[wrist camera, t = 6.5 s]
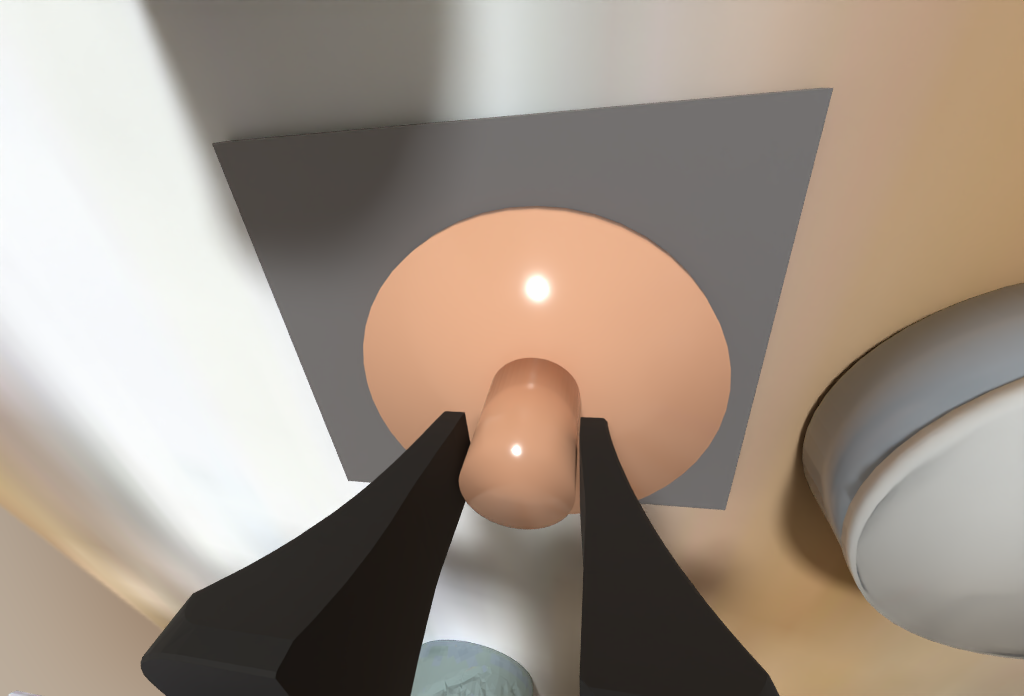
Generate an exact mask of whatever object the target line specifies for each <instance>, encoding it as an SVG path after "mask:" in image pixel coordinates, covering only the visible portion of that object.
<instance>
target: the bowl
mask: <svg viewBox="0 0 1024 696" xmlns="http://www.w3.org/2000/svg"><path fill="white" fill-rule="evenodd" d="M802 462H803V468H804V474H805V477H806V479H807V482H808V485H809V487H810V489H811V491H812V493H813V495H814V497H815V498H816V500H817V502H818V504H819V506H820V508H821V510H822V512H823V514H824V516H825V517H826V519H827V521H828V523H829V525H830V527H831V529H832V531H833V533H834V535H835V536H836V538H837V540H838V542H839V544H840V546H841V548H842V551H843V556H844V558H845V561H846V564H847V566H848V569H849V571H850V573H851V575H852V576H853V578H854V580H855V582H856V584H857V586H858V588H859V589H860V591H861V592H862V594H863V595H864V597H865V598H866V600H867V601H868V602H869V603H870V604H871V605H872V606H873V607H874V608H875V609H876V610H877V611H878V612H879V613H880V614H882V615H883V616H884V617H886V618H887V619H889V620H890V621H891V622H893V623H894V624H896V625H898V626H900V627H902V628H904V629H905V630H907V631H909V632H911V633H913V634H916V635H918V636H921V637H923V638H926V639H928V640H931V641H934V642H937V643H940V644H943V645H947V646H950V647H953V648H957V649H962V650H966V651H971V652H975V653H980V654H986V655H993V656H999V657H1006V658H1015V659H1024V283H1020V284H1016V285H1011V286H1007V287H1003V288H1000V289H997V290H994V291H991V292H988V293H985V294H982V295H979V296H976V297H973V298H970V299H967V300H965V301H962V302H960V303H957V304H955V305H953V306H950V307H948V308H945V309H943V310H941V311H938V312H936V313H934V314H932V315H930V316H928V317H926V318H924V319H922V320H920V321H918V322H916V323H915V324H913V325H911V326H909V327H907V328H905V329H904V330H902V331H900V332H899V333H897V334H896V335H894V336H892V337H891V338H889V339H888V340H886V341H884V342H883V343H881V344H880V345H879V346H877V347H876V348H875V349H873V350H872V351H871V352H869V353H868V354H867V355H865V356H864V357H863V358H862V359H860V360H859V361H858V362H857V363H856V364H855V365H854V366H852V367H851V368H850V369H849V370H848V371H847V372H846V373H845V374H844V375H843V376H842V377H841V378H840V379H839V380H838V381H837V382H836V384H835V385H834V386H833V387H832V388H831V389H830V391H829V392H828V393H827V394H826V395H825V397H824V398H823V400H822V402H821V403H820V405H819V406H818V408H817V409H816V411H815V412H814V415H813V417H812V419H811V421H810V423H809V426H808V428H807V431H806V435H805V439H804V443H803V454H802Z"/></svg>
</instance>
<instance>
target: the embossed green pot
mask: <svg viewBox="0 0 1024 696" xmlns="http://www.w3.org/2000/svg"><path fill="white" fill-rule="evenodd" d="M411 696H533V686H532V680H531V678H530V676H529V674H528V672H527V671H526V670H525V669H524V668H523V667H522V666H521V665H520V664H519V663H517V662H516V661H514V660H513V659H511V658H510V657H508V656H506V655H504V654H502V653H500V652H498V651H496V650H493V649H491V648H488V647H485V646H481V645H478V644H474V643H469V642H464V641H456V640H438V641H431V642H428V643H425V644H423V645H422V646H421V651H420V655H419V659H418V664H417V668H416V673H415V678H414V683H413V687H412V692H411Z"/></svg>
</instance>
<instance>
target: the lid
mask: <svg viewBox="0 0 1024 696" xmlns="http://www.w3.org/2000/svg"><path fill="white" fill-rule="evenodd" d="M363 356H364V368H365V374H366V379H367V383H368V387H369V390H370V393H371V396H372V399H373V401H374V403H375V405H376V407H377V409H378V411H379V414H380V416H381V417H382V419H383V420H384V422H385V424H386V425H387V427H388V428H389V430H390V431H391V433H392V434H393V435H394V436H395V438H396V439H397V440H398V441H399V443H400V444H401V445H402V446H403V447H404V448H405V449H406V450H407V449H408V448H409V447H410V446H411V445H412V444H413V443H414V442H415V441H416V440H417V439H418V438H419V437H420V436H421V435H422V434H423V433H424V432H425V431H426V430H427V429H428V428H429V427H430V425H431V424H432V423H433V422H434V421H435V420H436V419H437V418H438V417H439V416H440V415H441V414H442V413H443V412H444V411H452V412H465V415H466V421H467V426H468V432H469V437H470V443H471V444H470V446H469V449H468V452H467V455H466V458H465V461H464V464H463V466H462V469H461V472H460V475H459V487H460V491H461V493H462V496H463V497H464V499H465V501H466V502H467V503H468V504H469V505H470V506H471V507H472V509H474V510H475V511H476V512H477V513H478V514H480V515H481V516H483V517H485V518H486V519H488V520H490V521H492V522H495V523H497V524H500V525H503V526H507V527H511V528H517V529H539V528H544V527H548V526H551V525H553V524H556V523H558V522H559V521H561V520H563V519H564V518H565V517H566V516H567V515H568V514H577V513H580V462H579V433H580V419H581V417H593V418H604V419H605V420H606V421H607V422H608V428H609V432H610V436H611V439H612V442H613V445H614V448H615V451H616V453H617V456H618V459H619V461H620V463H621V466H622V468H623V470H624V472H625V475H626V477H627V479H628V481H629V483H630V485H631V487H632V489H633V491H634V493H635V495H636V497H637V499H638V500H639V499H642V498H644V497H647V496H649V495H651V494H653V493H654V492H656V491H658V490H660V489H662V488H664V487H665V486H667V485H668V484H670V483H671V482H673V481H674V480H675V479H677V478H678V477H680V476H681V475H682V474H683V473H685V472H686V471H687V470H688V469H689V468H690V467H691V466H692V465H693V464H694V463H695V462H696V461H697V460H698V459H699V458H700V456H701V455H702V454H703V453H704V452H705V450H706V449H707V448H708V447H709V445H710V443H711V442H712V440H713V438H714V437H715V435H716V433H717V431H718V430H719V428H720V425H721V422H722V420H723V417H724V415H725V412H726V409H727V404H728V399H729V394H730V384H731V366H730V359H729V352H728V346H727V343H726V340H725V337H724V334H723V331H722V328H721V325H720V323H719V321H718V319H717V317H716V315H715V313H714V311H713V309H712V307H711V306H710V304H709V302H708V300H707V298H706V296H705V294H704V292H703V291H702V289H701V288H700V287H699V285H698V284H697V283H696V282H695V280H694V279H693V278H692V276H691V275H690V274H689V272H688V271H687V270H686V269H685V268H684V267H683V266H682V265H681V264H680V263H679V262H678V261H677V260H676V259H675V258H674V257H673V256H671V255H670V254H669V253H668V252H667V251H665V250H664V249H663V248H661V247H660V246H659V245H657V244H656V243H654V242H653V241H652V240H650V239H649V238H647V237H646V236H644V235H642V234H640V233H638V232H636V231H634V230H632V229H631V228H629V227H627V226H625V225H623V224H621V223H618V222H615V221H612V220H610V219H607V218H604V217H601V216H599V215H596V214H592V213H587V212H583V211H578V210H573V209H569V208H560V207H547V206H524V207H509V208H504V209H499V210H494V211H489V212H484V213H480V214H478V215H475V216H472V217H469V218H466V219H463V220H460V221H458V222H456V223H454V224H452V225H450V226H448V227H446V228H444V229H443V230H441V231H439V232H437V233H435V234H434V235H433V236H431V237H430V238H429V239H427V240H426V241H425V242H423V243H422V244H420V245H419V246H418V247H417V248H416V249H414V250H413V251H412V252H411V253H410V254H409V255H408V256H407V257H406V258H405V259H404V260H403V261H402V262H401V263H400V264H399V265H398V266H397V267H396V268H395V269H394V270H393V271H392V273H391V274H390V275H389V277H388V278H387V280H386V281H385V282H384V284H383V285H382V287H381V288H380V290H379V292H378V294H377V296H376V298H375V300H374V302H373V304H372V306H371V309H370V313H369V316H368V320H367V323H366V326H365V335H364V343H363Z"/></svg>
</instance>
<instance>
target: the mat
mask: <svg viewBox="0 0 1024 696" xmlns="http://www.w3.org/2000/svg"><path fill="white" fill-rule="evenodd" d="M832 91H833V88H815V89H804V90H793V91H782V92H770V93H759V94H748V95H737V96H726V97H715V98H703V99H692V100H681V101H670V102H659V103H648V104H637V105H625V106H614V107H603V108H592V109H581V110H570V111H559V112H547V113H536V114H525V115H514V116H503V117H492V118H480V119H469V120H458V121H447V122H436V123H425V124H414V125H402V126H391V127H380V128H369V129H358V130H347V131H336V132H324V133H313V134H302V135H291V136H280V137H269V138H258V139H246V140H235V141H225V142H219V143H213V147H214V149H215V152H216V154H217V157H218V159H219V162H220V164H221V167H222V169H223V172H224V174H225V177H226V179H227V182H228V184H229V186H230V189H231V191H232V194H233V196H234V199H235V201H236V204H237V206H238V209H239V211H240V214H241V216H242V219H243V221H244V224H245V226H246V229H247V231H248V234H249V236H250V238H251V241H252V243H253V246H254V248H255V251H256V253H257V256H258V258H259V261H260V263H261V266H262V268H263V271H264V273H265V276H266V278H267V281H268V283H269V286H270V288H271V290H272V293H273V295H274V298H275V300H276V303H277V305H278V308H279V310H280V313H281V315H282V318H283V320H284V323H285V325H286V328H287V330H288V333H289V335H290V338H291V340H292V342H293V345H294V347H295V350H296V352H297V355H298V357H299V360H300V362H301V365H302V367H303V370H304V372H305V375H306V377H307V380H308V382H309V385H310V387H311V390H312V392H313V394H314V397H315V399H316V402H317V404H318V407H319V409H320V412H321V414H322V417H323V419H324V422H325V424H326V427H327V429H328V432H329V434H330V437H331V439H332V442H333V444H334V446H335V449H336V451H337V454H338V456H339V459H340V461H341V464H342V466H343V469H344V471H345V474H346V476H347V479H348V481H358V482H373V481H374V480H375V479H376V478H377V477H378V476H379V475H380V474H381V473H383V472H384V471H385V470H386V469H387V468H388V467H389V466H390V465H391V464H392V463H394V462H395V461H396V460H397V459H398V458H399V457H400V456H401V455H402V454H403V453H404V452H405V451H406V449H405V448H404V447H403V446H402V445H401V444H400V443H399V441H398V440H397V439H396V438H395V436H394V435H393V434H392V433H391V431H390V430H389V428H388V427H387V425H386V424H385V422H384V420H383V419H382V417H381V416H380V414H379V411H378V409H377V407H376V405H375V403H374V401H373V399H372V396H371V393H370V390H369V387H368V383H367V379H366V374H365V368H364V356H363V343H364V335H365V326H366V323H367V320H368V316H369V313H370V309H371V306H372V304H373V302H374V300H375V298H376V296H377V294H378V292H379V290H380V288H381V287H382V285H383V284H384V282H385V281H386V280H387V278H388V277H389V275H390V274H391V273H392V271H393V270H394V269H395V268H396V267H397V266H398V265H399V264H400V263H401V262H402V261H403V260H404V259H405V258H406V257H407V256H408V255H409V254H410V253H411V252H412V251H413V250H414V249H416V248H417V247H418V246H419V245H420V244H422V243H423V242H425V241H426V240H427V239H429V238H430V237H431V236H433V235H434V234H435V233H437V232H439V231H441V230H443V229H444V228H446V227H448V226H450V225H452V224H454V223H456V222H458V221H460V220H463V219H466V218H469V217H472V216H475V215H478V214H480V213H484V212H489V211H494V210H499V209H504V208H509V207H524V206H547V207H560V208H569V209H573V210H578V211H583V212H587V213H592V214H596V215H599V216H601V217H604V218H607V219H610V220H612V221H615V222H618V223H621V224H623V225H625V226H627V227H629V228H631V229H632V230H634V231H636V232H638V233H640V234H642V235H644V236H646V237H647V238H649V239H650V240H652V241H653V242H654V243H656V244H657V245H659V246H660V247H661V248H663V249H664V250H665V251H667V252H668V253H669V254H670V255H671V256H673V257H674V258H675V259H676V260H677V261H678V262H679V263H680V264H681V265H682V266H683V267H684V268H685V269H686V270H687V271H688V272H689V274H690V275H691V276H692V278H693V279H694V280H695V282H696V283H697V284H698V285H699V287H700V288H701V289H702V291H703V292H704V294H705V296H706V298H707V300H708V302H709V304H710V306H711V307H712V309H713V311H714V313H715V315H716V317H717V319H718V321H719V323H720V325H721V328H722V331H723V334H724V337H725V340H726V343H727V346H728V352H729V359H730V366H731V384H730V394H729V399H728V404H727V409H726V412H725V415H724V417H723V420H722V422H721V425H720V428H719V430H718V431H717V433H716V435H715V437H714V438H713V440H712V442H711V443H710V445H709V447H708V448H707V449H706V450H705V452H704V453H703V454H702V455H701V456H700V458H699V459H698V460H697V461H696V462H695V463H694V464H693V465H692V466H691V467H690V468H689V469H688V470H687V471H686V472H685V473H683V474H682V475H681V476H680V477H678V478H677V479H675V480H674V481H673V482H671V483H670V484H668V485H667V486H665V487H664V488H662V489H660V490H658V491H656V492H654V493H653V494H651V495H649V496H647V497H644V498H642V499H639V500H638V501H639V503H641V504H654V505H667V506H679V507H692V508H705V509H718V510H725V509H726V505H727V501H728V497H729V493H730V489H731V485H732V482H733V478H734V474H735V470H736V466H737V462H738V458H739V454H740V450H741V446H742V443H743V439H744V435H745V431H746V427H747V423H748V419H749V415H750V411H751V407H752V403H753V400H754V396H755V392H756V388H757V384H758V380H759V376H760V372H761V368H762V364H763V360H764V357H765V353H766V349H767V345H768V341H769V337H770V333H771V329H772V325H773V321H774V317H775V314H776V310H777V306H778V302H779V298H780V294H781V290H782V286H783V282H784V278H785V274H786V271H787V267H788V263H789V259H790V255H791V251H792V247H793V243H794V239H795V235H796V231H797V228H798V224H799V220H800V216H801V212H802V208H803V204H804V200H805V196H806V192H807V188H808V185H809V181H810V177H811V173H812V169H813V165H814V161H815V157H816V153H817V149H818V145H819V142H820V138H821V134H822V130H823V126H824V122H825V118H826V114H827V110H828V106H829V102H830V99H831V95H832Z"/></svg>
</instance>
